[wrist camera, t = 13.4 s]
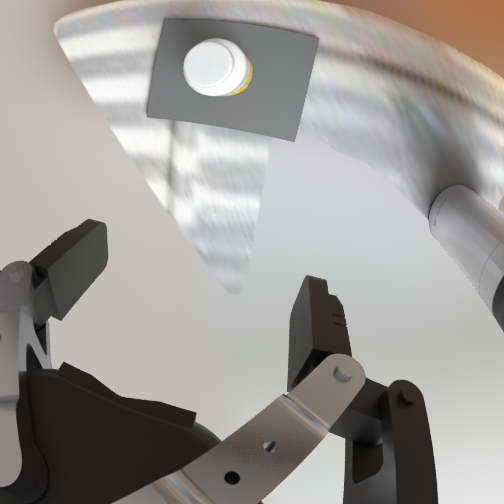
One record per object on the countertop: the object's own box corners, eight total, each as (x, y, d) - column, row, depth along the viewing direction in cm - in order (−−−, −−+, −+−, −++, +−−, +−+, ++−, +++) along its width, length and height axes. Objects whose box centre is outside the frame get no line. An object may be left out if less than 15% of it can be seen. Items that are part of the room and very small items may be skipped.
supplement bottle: (196, 65, 27) (162, 54, 18) (240, 43, 25) (223, 20, 17) (218, 104, 29) (192, 107, 20) (262, 83, 28) (254, 76, 19)
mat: (318, 39, 25) (319, 38, 24) (294, 141, 31) (294, 142, 31) (166, 20, 24) (164, 19, 24) (149, 116, 31) (146, 117, 30)
